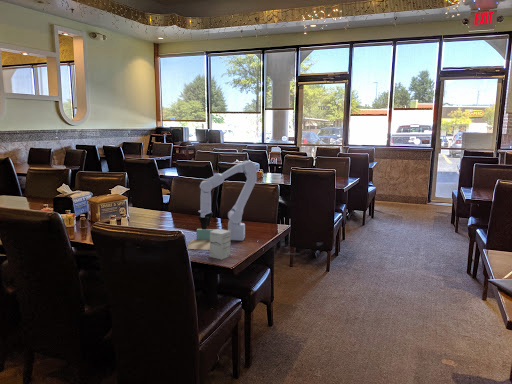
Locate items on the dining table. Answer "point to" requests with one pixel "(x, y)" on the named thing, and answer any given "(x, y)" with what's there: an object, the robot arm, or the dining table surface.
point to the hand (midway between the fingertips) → (205, 227)
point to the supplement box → (220, 243)
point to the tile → (203, 234)
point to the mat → (199, 245)
